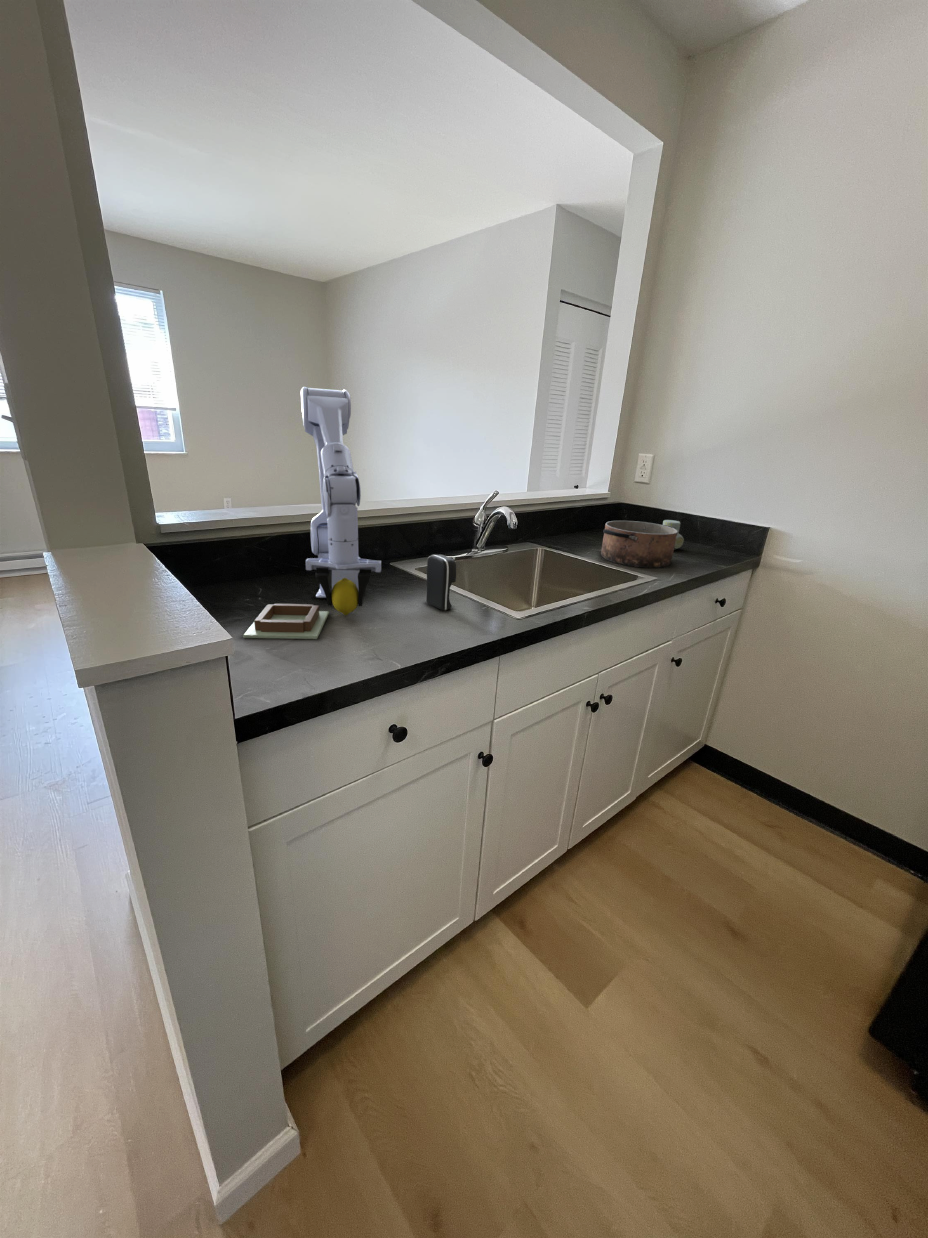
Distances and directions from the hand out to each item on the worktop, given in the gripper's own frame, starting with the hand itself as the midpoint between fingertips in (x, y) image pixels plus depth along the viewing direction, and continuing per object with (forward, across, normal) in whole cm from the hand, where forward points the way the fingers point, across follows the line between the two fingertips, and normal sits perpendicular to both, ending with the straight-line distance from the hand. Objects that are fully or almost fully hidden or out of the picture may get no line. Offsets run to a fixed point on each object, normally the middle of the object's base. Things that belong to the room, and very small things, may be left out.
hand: (345, 604), depth 102 cm
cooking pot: (+2, +87, +57) cm, 104 cm away
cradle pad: (+2, -10, -6) cm, 12 cm away
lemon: (+3, 0, 0) cm, 3 cm away
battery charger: (+3, +20, +7) cm, 21 cm away
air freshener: (+3, +107, +76) cm, 131 cm away
